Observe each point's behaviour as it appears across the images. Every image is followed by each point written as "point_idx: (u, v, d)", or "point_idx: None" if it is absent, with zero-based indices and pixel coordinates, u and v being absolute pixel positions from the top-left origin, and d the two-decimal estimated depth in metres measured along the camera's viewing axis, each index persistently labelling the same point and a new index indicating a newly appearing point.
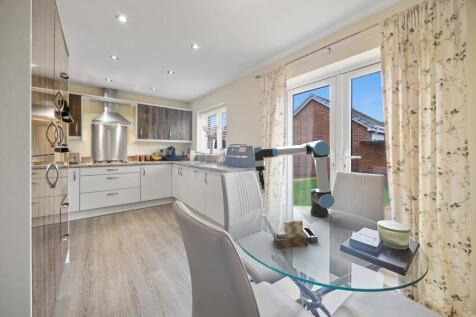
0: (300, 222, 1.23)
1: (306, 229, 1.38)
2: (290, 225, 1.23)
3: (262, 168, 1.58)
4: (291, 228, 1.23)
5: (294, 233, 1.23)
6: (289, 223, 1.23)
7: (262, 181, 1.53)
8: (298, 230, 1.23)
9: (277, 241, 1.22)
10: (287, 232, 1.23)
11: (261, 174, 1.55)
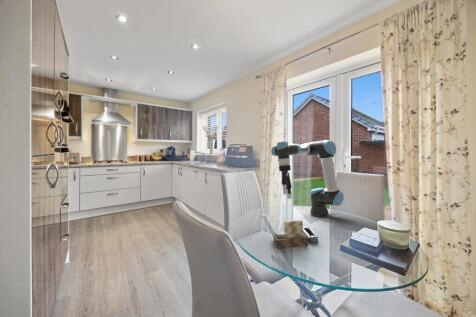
0: (300, 222, 1.23)
1: (306, 229, 1.38)
2: (290, 225, 1.23)
3: (287, 168, 1.28)
4: (291, 228, 1.23)
5: (294, 233, 1.23)
6: (289, 223, 1.23)
7: (288, 184, 1.22)
8: (298, 230, 1.23)
9: (277, 241, 1.22)
10: (287, 232, 1.23)
11: (287, 175, 1.24)
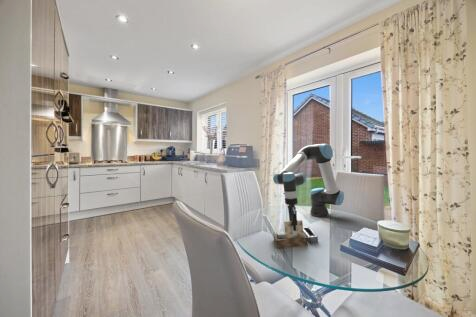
0: (300, 222, 1.23)
1: (306, 229, 1.38)
2: (290, 225, 1.23)
3: (294, 201, 1.20)
4: (291, 228, 1.23)
5: None
6: (289, 223, 1.23)
7: (294, 222, 1.19)
8: (298, 230, 1.23)
9: (277, 241, 1.22)
10: (287, 232, 1.23)
11: (294, 213, 1.18)
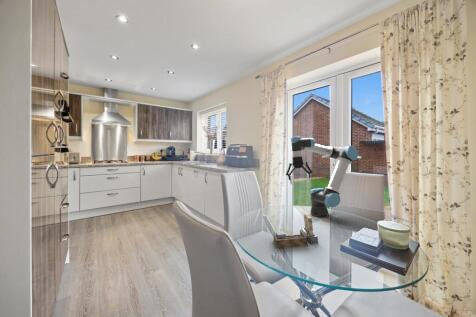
0: (308, 219, 1.27)
1: None
2: (305, 218, 1.33)
3: (293, 159, 1.53)
4: (305, 221, 1.33)
5: (307, 226, 1.31)
6: (304, 215, 1.34)
7: (286, 172, 1.55)
8: (308, 225, 1.29)
9: (277, 241, 1.22)
10: (304, 223, 1.36)
11: (289, 165, 1.55)
